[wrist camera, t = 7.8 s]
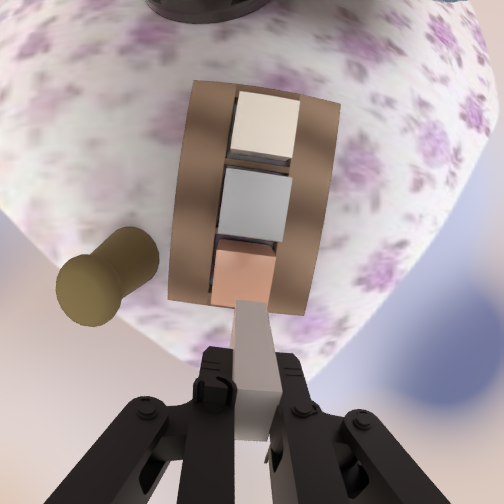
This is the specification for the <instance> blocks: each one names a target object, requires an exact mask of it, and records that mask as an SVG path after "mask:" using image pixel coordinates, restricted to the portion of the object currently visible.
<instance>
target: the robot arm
mask: <svg viewBox="0 0 504 504" xmlns="http://www.w3.org/2000/svg"><path fill="white" fill-rule="evenodd" d="M269 1H270V0H146V2H147V3H148V5H149V6H150V7H151V9H153V10H154V11H155V12H156V13H158V14H159V15H161V16H163V17H166V18H168V19H171V20H175V21H179V22H186V23H213V22H221V21H226V20H231V19H234V18H238V17H241V16H244V15H246V14H249V13H251V12H253V11H255V10H257V9H259V8H260V7H262V6H264V5H265V4H266V3H268V2H269ZM434 1H438V2H457V1H466V0H434ZM269 434H270V442H271V443H270V446H269V449H268V452H267V455H266V457H265V462H264V463H267V462H268V460H269V468H270V479H271V489H272V499H273V504H451V503H450V502H449V501H448V500H447V498H446V497H445V496H444V495H443V494H442V493H441V491H440V490H439V489H438V488H437V487H436V486H435V485H434V483H433V482H432V481H431V480H430V479H429V477H428V476H427V475H426V474H425V473H424V472H423V471H422V469H421V468H420V467H419V466H418V465H417V463H416V462H415V461H414V460H413V459H412V458H411V456H410V455H409V454H408V453H407V452H406V451H405V449H404V448H403V447H402V446H401V445H400V443H399V442H398V441H397V440H396V439H395V438H394V436H393V435H392V434H391V433H390V432H389V431H388V429H387V428H386V427H385V426H384V425H383V423H382V422H381V421H380V420H379V419H378V418H377V416H375V415H374V414H373V413H371V412H369V411H367V410H362V409H357V410H352V411H350V412H348V413H347V414H346V416H345V417H340V416H335V415H330V414H326V413H324V412H322V410H321V409H320V407H319V405H318V404H316V403H315V402H314V401H312V400H311V398H310V395H309V391H308V388H307V384H306V381H305V377H304V374H303V371H302V367H301V364H300V361H299V360H298V359H297V357H296V356H295V355H294V354H293V353H279V352H275V349H274V343H273V338H272V333H271V327H270V322H269V317H268V312H267V306H266V303H262V302H253V301H245V300H237V299H236V305H235V312H234V320H233V327H232V334H231V342H230V349H228V348H220V347H212V346H209V347H208V348H207V349H206V350H205V351H204V352H203V356H202V362H201V367H200V372H199V377H198V378H197V379H196V380H195V382H194V384H193V399H192V400H191V401H189V402H187V403H185V404H182V405H177V406H166V405H165V404H164V403H163V402H162V401H161V400H159V399H157V398H154V397H150V396H140V397H137V398H134V399H133V400H132V401H130V402H129V403H128V404H127V405H126V406H125V407H124V409H123V410H122V411H121V412H120V413H119V414H118V416H117V417H116V418H115V419H114V420H113V422H112V423H111V424H110V425H109V426H108V428H107V429H106V430H105V431H104V432H103V434H102V435H101V436H100V437H99V438H98V440H97V441H96V442H95V443H94V444H93V445H92V447H91V448H90V449H89V450H88V451H87V453H86V454H85V455H84V456H83V457H82V459H81V460H80V461H79V462H78V463H77V464H76V466H75V467H74V468H73V469H72V470H71V472H70V473H69V474H68V475H67V477H66V478H65V479H64V480H63V481H62V482H61V484H60V485H59V486H58V487H57V488H56V489H55V491H54V492H53V493H52V494H51V495H50V497H49V498H48V499H47V500H46V501H45V503H44V504H147V503H148V501H149V499H150V497H151V496H152V494H153V492H154V490H155V488H156V487H157V485H158V483H159V481H160V479H161V478H162V476H163V474H164V472H165V470H166V469H167V467H168V465H169V463H170V461H174V460H183V463H182V470H181V476H180V483H179V490H178V497H177V504H235V501H234V500H235V494H234V493H235V489H234V488H235V486H234V440H244V441H266V442H267V440H268V436H269Z"/></svg>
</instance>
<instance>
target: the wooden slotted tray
mask: <svg viewBox="0 0 504 504" xmlns="http://www.w3.org/2000/svg"><path fill="white" fill-rule="evenodd" d="M240 91H243V92H250V93H257V94H264V95H270V96H276V97H281V98H287V99H292V100H297V101H300V106H299V113H298V121H297V128H296V135H295V142H294V149H293V155H292V158H291V159H288V160H287V165H286V167H284V166H278V165H272V164H265V163H259V162H252V161H245V160H237V159H230V158H226V155H227V149H228V142H229V136H230V130H231V123H232V117H233V111H234V105H235V103H238V98H239V92H240ZM340 106H341V104H339V103H335V102H331V101H327V100H323V99H319V98H315V97H310V96H306V95H301V94H296V93H291V92H286V91H281V90H275V89H269V88H263V87H256V86H249V85H241V84H233V83H223V82H212V81H198V80H194V82H193V87H192V92H191V97H190V103H189V108H188V113H187V119H186V125H185V131H184V137H183V143H182V150H181V157H180V164H179V171H178V179H177V187H176V196H175V205H174V214H173V224H172V236H171V248H170V262H169V279H168V300H173V301H180V302H187V303H194V304H201V305H208V306H216V307H224V308H232V309H235V307H228V306H220V305H212V304H211V296H212V287H213V286H212V285H210V281H211V272H212V263H213V254H214V245H215V237H216V234H219V233H218V227H219V225H218V224H217V221H218V213H219V205H220V198H221V190H222V183H223V176H224V169H225V165H230V166H237V167H245V168H252V169H258V170H265V171H271V172H278V173H284V174H285V177H291V178H293V179H292V185H291V191H290V198H289V204H288V210H287V216H286V223H285V229H284V235H283V240H282V242H279V241H274V248H273V251H274V254H275V256H276V262H275V267H274V273H273V279H272V284H271V290H270V296H269V301H268V307H267V312H268V313H277V314H288V315H299V316H304V314H305V310H306V306H307V301H308V297H309V292H310V288H311V283H312V279H313V274H314V269H315V265H316V260H317V255H318V250H319V245H320V240H321V234H322V229H323V223H324V218H325V212H326V207H327V201H328V195H329V188H330V182H331V176H332V169H333V162H334V155H335V148H336V140H337V132H338V124H339V115H340ZM221 235H227V234H221ZM229 236H235V235H229ZM236 237H242V236H236ZM244 238H250V237H244ZM251 239H257V238H251ZM259 240H265V239H259ZM266 241H272V240H266Z"/></svg>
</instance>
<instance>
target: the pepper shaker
mask: <svg viewBox="0 0 504 504" xmlns="http://www.w3.org/2000/svg"><path fill="white" fill-rule="evenodd" d="M158 265H159V252H158V249H157V247H156V244H155V242H154V241H153V240H152V238H151V237H150V236H149V235H148V234H147V233H145V232H144V231H143V230H141V229H138V228H135V227H124V228H121V229H118V230H116V231H115V232H114V233H113V234H112V235H111V236H110V237H108V238H107V239H106V240H105V241H104V242H103V243H102V244H101V245H100V246H99V247H98V248H97V249H95V250H94V251H93V252H92V253H91V254H90V255H88V254H83V255H79V256H76V257H74V258H72V259H70V260H68V261H67V262H66V263H65V264H64V265H63V267H62V268H61V269H60V271H59V274H58V276H57V281H56V295H57V300H58V302H59V304H60V306H61V308H62V310H63V311H64V312H65V314H66V315H67V316H68V317H69V318H70V319H72V320H73V321H74V322H76V323H78V324H80V325H83V326H89V327H96V326H100V325H103V324H105V323H107V322H108V321H109V320H111V319H112V318H113V317H114V316H115V314H116V312H117V311H118V309H119V307H120V304H121V300H122V298H124V297H125V296H127V295H128V294H130V293H131V292H133V291H134V290H136V289H137V288H139V287H140V286H142V285H143V284H145V283H146V282H148V281H149V280H150V279H152V278H153V276H154V275H155V273H156V272H157V269H158Z"/></svg>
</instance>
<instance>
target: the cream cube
mask: <svg viewBox="0 0 504 504" xmlns="http://www.w3.org/2000/svg"><path fill="white" fill-rule="evenodd" d="M299 106H300V101H297V100H292V99H287V98H281V97H276V96H270V95H264V94H257V93H250V92H243V91H240V92H239V98H238V104H237V110H236V116H235V122H234V128H233V135H232V141H231V148H230V149H231V152H232V154H239V155H247V156H254V157H260V158H267V159H273V160H279V161H286V160H288V159H291V158H292V155H293V149H294V142H295V135H296V128H297V121H298V113H299Z"/></svg>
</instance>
